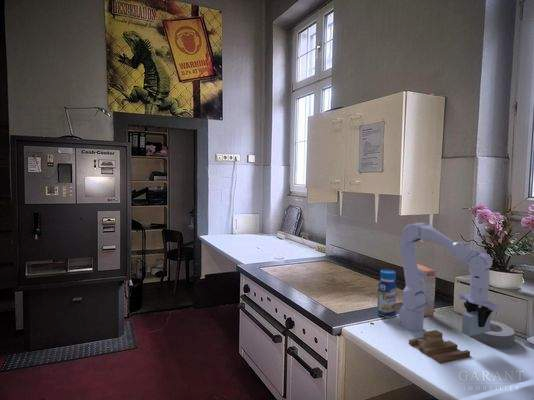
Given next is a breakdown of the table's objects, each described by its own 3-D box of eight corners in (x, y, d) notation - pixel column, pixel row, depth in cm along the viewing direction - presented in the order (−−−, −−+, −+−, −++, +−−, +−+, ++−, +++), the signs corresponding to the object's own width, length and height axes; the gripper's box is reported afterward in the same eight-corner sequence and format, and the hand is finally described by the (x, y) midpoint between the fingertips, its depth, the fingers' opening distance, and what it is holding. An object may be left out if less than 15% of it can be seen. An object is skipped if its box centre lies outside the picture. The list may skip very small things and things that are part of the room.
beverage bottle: (389, 310, 168) (391, 268, 166) (400, 317, 160) (401, 273, 158) (373, 311, 166) (374, 269, 164) (382, 318, 158) (384, 274, 156)
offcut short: (423, 338, 132) (423, 332, 132) (435, 336, 135) (436, 329, 134) (429, 342, 130) (429, 335, 130) (442, 339, 132) (442, 333, 132)
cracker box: (434, 316, 162) (436, 270, 160) (422, 316, 161) (424, 271, 159) (416, 304, 175) (418, 262, 174) (405, 305, 174) (407, 263, 173)
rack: (408, 346, 133) (408, 339, 133) (437, 340, 138) (437, 334, 137) (440, 366, 119) (440, 359, 119) (471, 359, 124) (472, 352, 123)
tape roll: (503, 353, 129) (504, 339, 129) (460, 337, 141) (461, 324, 141) (520, 341, 138) (521, 329, 138) (478, 327, 150) (479, 315, 150)
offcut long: (417, 344, 132) (417, 339, 132) (436, 341, 135) (436, 336, 135) (423, 348, 129) (424, 343, 129) (443, 344, 132) (443, 339, 132)
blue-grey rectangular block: (461, 332, 128) (462, 313, 127) (482, 328, 131) (483, 309, 131) (469, 336, 125) (469, 316, 125) (489, 331, 129) (490, 312, 128)
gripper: (453, 282, 133) (451, 318, 134) (489, 295, 119) (487, 334, 120) (467, 280, 135) (465, 315, 136) (504, 293, 121) (502, 331, 122)
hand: (477, 324), depth 128 cm, fingers closed on blue-grey rectangular block, 3 cm apart
